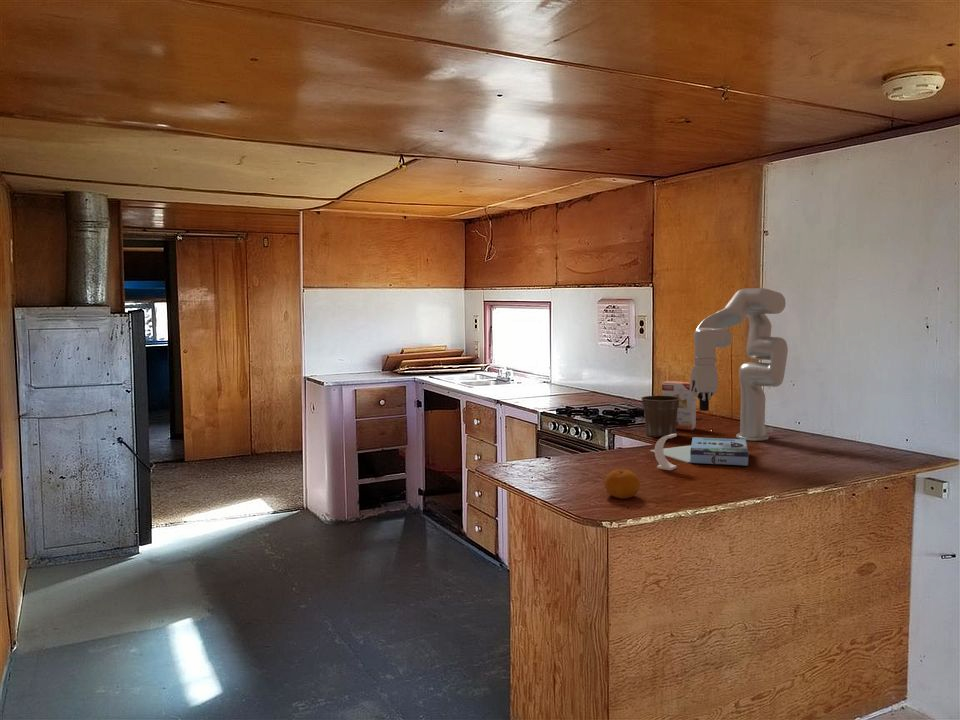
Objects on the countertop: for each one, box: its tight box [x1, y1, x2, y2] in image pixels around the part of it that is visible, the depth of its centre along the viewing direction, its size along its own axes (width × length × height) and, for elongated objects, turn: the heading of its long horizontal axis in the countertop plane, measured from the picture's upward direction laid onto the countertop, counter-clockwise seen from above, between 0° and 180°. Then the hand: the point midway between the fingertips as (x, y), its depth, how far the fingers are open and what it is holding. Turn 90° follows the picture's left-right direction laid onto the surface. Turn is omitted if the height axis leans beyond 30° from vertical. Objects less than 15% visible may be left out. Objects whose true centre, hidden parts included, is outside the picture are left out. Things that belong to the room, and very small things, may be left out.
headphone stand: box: [653, 433, 678, 471], centre depth 248 cm, size 5×6×12 cm
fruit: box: [604, 468, 641, 500], centre depth 214 cm, size 10×10×8 cm
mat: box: [649, 444, 691, 464], centre depth 269 cm, size 20×22×1 cm
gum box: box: [689, 436, 749, 467], centre depth 261 cm, size 20×5×23 cm
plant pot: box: [640, 395, 680, 438], centre depth 305 cm, size 16×16×16 cm
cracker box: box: [661, 380, 697, 431], centre depth 320 cm, size 14×6×21 cm, turn 55°
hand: (704, 410), depth 270 cm, fingers closed
